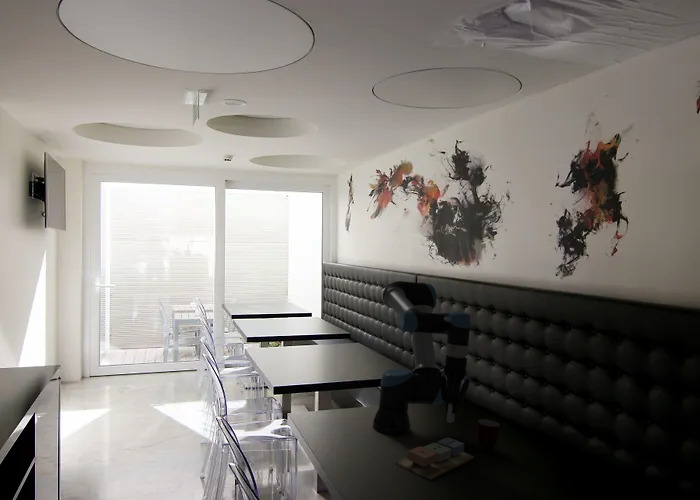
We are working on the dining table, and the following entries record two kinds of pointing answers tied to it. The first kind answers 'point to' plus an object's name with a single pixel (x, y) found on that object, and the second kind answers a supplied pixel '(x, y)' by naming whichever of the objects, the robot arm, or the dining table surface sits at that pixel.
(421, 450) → the tile
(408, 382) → the robot arm
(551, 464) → the dining table surface
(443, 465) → the board
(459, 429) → the dining table surface
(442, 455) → the tile
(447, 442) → the tile
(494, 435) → the mug
